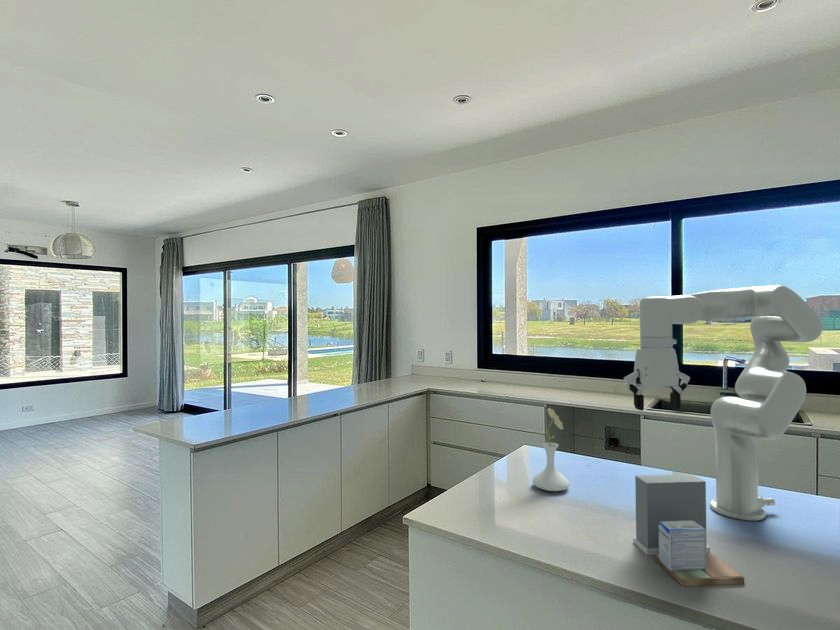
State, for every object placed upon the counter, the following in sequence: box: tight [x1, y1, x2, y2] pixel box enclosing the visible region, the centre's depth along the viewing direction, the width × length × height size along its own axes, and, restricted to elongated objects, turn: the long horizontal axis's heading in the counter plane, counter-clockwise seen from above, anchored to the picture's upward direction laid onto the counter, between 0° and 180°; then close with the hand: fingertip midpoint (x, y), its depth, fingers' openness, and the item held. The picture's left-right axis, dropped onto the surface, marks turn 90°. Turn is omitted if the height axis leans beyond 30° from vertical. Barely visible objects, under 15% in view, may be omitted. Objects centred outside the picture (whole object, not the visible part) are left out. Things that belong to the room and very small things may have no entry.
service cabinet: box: [632, 473, 711, 556], centre depth 106 cm, size 15×6×16 cm, turn 93°
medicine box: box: [659, 520, 707, 571], centre depth 96 cm, size 8×4×9 cm, turn 92°
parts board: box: [653, 551, 745, 587], centre depth 96 cm, size 13×10×1 cm
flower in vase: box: [532, 407, 570, 492], centre depth 145 cm, size 13×11×25 cm
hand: (657, 408), depth 118 cm, fingers open, 9 cm apart
